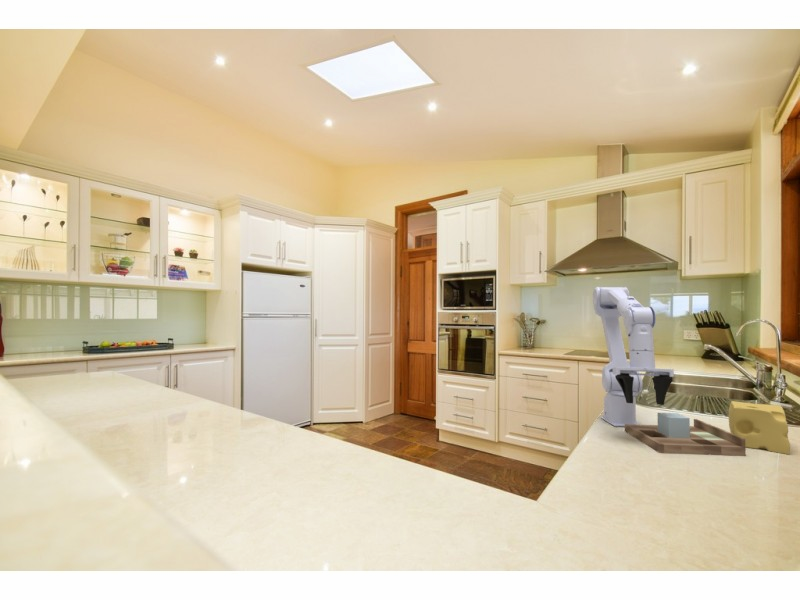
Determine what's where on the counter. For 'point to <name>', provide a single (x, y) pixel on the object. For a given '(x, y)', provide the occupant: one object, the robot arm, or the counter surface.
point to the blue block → (674, 425)
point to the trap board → (690, 440)
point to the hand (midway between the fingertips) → (645, 403)
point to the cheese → (760, 426)
